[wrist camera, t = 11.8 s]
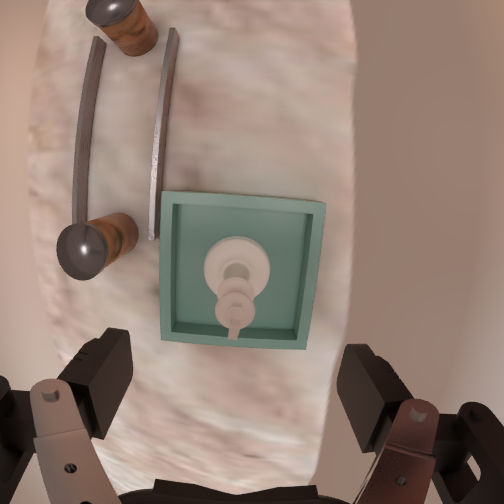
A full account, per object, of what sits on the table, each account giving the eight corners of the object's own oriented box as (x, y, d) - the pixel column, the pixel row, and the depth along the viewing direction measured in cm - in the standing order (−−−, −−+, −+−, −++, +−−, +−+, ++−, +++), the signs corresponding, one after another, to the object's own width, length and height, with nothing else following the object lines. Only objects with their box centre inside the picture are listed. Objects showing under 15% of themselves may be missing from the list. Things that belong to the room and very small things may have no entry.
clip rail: (106, 27, 19) (72, -8, 12) (182, 20, 19) (165, -25, 13) (83, 251, 23) (38, 274, 17) (159, 257, 24) (131, 285, 17)
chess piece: (200, 295, 24) (176, 367, 14) (207, 231, 23) (183, 268, 13) (264, 303, 24) (279, 379, 14) (275, 240, 23) (300, 284, 13)
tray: (169, 189, 22) (161, 191, 20) (317, 201, 23) (326, 203, 21) (167, 326, 25) (161, 340, 22) (300, 335, 25) (305, 349, 23)
